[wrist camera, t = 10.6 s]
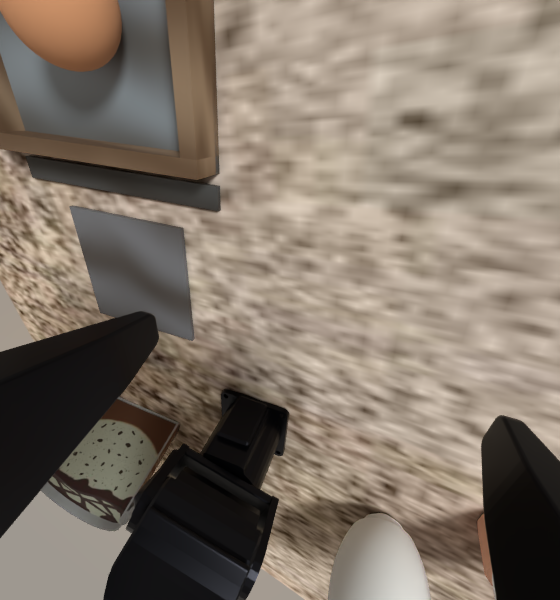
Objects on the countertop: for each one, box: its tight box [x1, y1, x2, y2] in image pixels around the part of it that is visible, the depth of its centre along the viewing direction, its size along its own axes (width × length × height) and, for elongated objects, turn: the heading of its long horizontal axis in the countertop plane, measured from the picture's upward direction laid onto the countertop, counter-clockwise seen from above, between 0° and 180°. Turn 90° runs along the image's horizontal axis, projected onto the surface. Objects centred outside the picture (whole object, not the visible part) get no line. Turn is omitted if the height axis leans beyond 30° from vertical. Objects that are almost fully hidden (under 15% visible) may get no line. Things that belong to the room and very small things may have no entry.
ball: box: [0, 0, 122, 72], centre depth 14 cm, size 5×5×5 cm
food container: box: [41, 397, 179, 531], centre depth 34 cm, size 12×6×10 cm, turn 82°
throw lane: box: [0, 0, 221, 341], centre depth 20 cm, size 28×16×2 cm, turn 176°
